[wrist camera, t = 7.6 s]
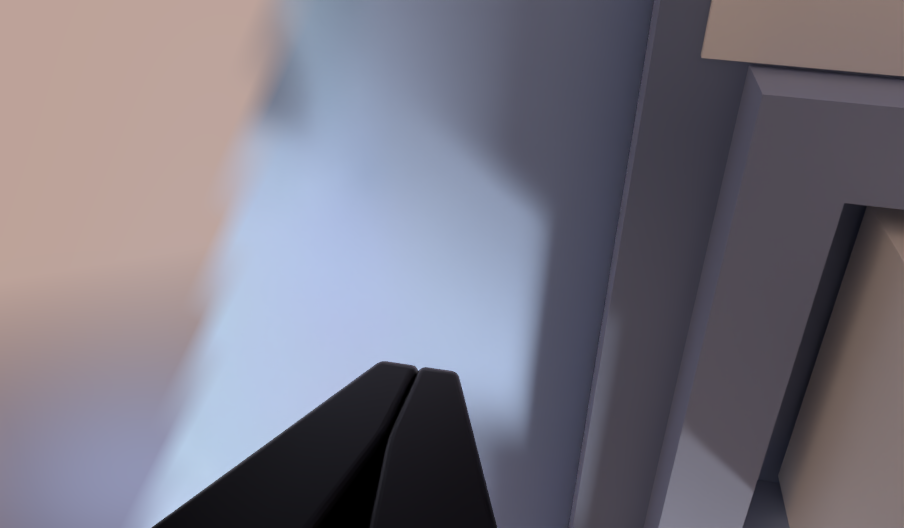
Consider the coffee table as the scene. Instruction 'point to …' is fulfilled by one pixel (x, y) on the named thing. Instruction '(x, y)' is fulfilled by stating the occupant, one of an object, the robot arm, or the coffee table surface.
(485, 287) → the coffee table surface
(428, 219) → the coffee table surface
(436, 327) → the coffee table surface
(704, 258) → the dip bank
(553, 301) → the coffee table surface
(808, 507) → the tab
